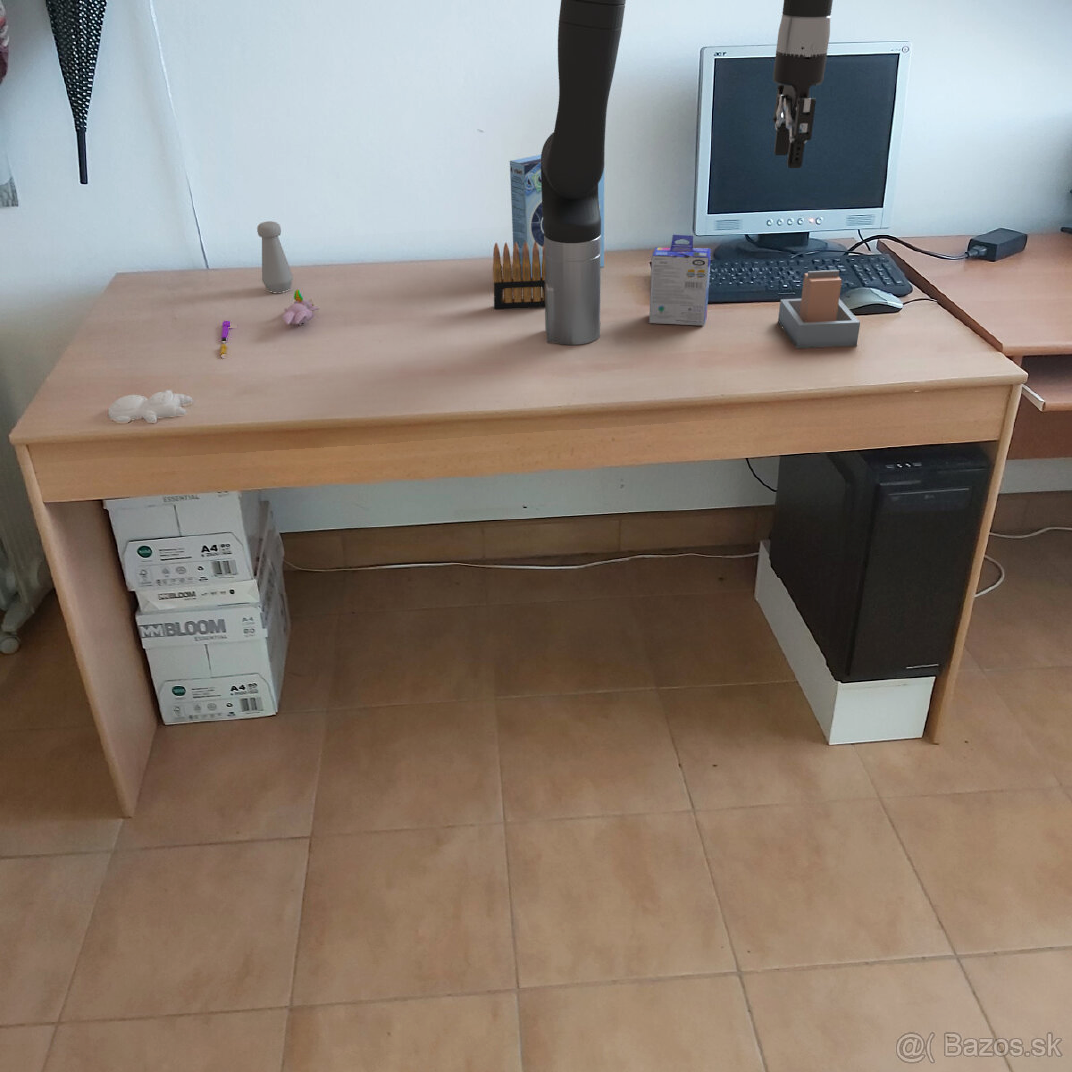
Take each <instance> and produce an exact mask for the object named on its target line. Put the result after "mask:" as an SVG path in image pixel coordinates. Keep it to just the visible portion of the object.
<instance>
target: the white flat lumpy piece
mask: <svg viewBox="0 0 1072 1072" xmlns="http://www.w3.org/2000/svg"><path fill="white" fill-rule="evenodd" d="M191 402H193V403H194V401H193V398H192V397H190V396H189V395H185V394H184V393H173V390H171V389H166V390H165V391H158V392H155V393H153V394H152V395H151V396H150V397H149V398H147V397H146V396H144V395H139V394H128V395H125V396H122V397H120V398H118V399H116V400H115V401H114V402H113V403H112V404H111V405H110V406H109V407H108V408H109V409H108V412H107V413H108V415H109V416H108V418H109V417H110V418H111V419H116V421H117V422H126V421H129V420H130V419H136V418H140V417H143V418H144V419H145V420H147V421H149V422H155V421H157V418H158V417H170V416H178V415H184V414H185V413H186V414H187V411H186V409H185V408H183V407H180V405H183V404H188V403H191ZM110 418H109V419H110ZM143 418H142V419H143ZM144 419H143V420H144ZM145 420H144V421H145ZM116 421H115V422H116ZM157 422H158V421H157Z"/></svg>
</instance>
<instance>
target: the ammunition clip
mask: <svg viewBox="0 0 1072 1072" xmlns="http://www.w3.org/2000/svg"><path fill="white" fill-rule="evenodd" d="M502 249H503V250H502V251H503V252H502V257H503V258H502V261H501V252H500V247H499V245H498V243H497V242H495V243H494V246H493V255H492V256H493V258H492V259H493V263H492V276H493V277H492V278H493V281H492V282H493V309H494V310H496V311H497V310H502V311H503V310H520V309H521V310H522V309H541V308H542V309H545V286H544V277H545V246H544V245H543V257H542V277H541V265H540V258H539V249H538V244H537V242H536V241H535V242H534V246H533V257H532V278H531V265H530V258H529V249H528V245H527V243H526V242H525V243H524V246H523V259H522V275H521V264H520V255H519V248H518V245H517V243H516V242H515V244H514V247H513V246H512V264H511V253H510V249H509V245H508V243H507V242H505V243H504V245H503V248H502ZM501 262H502V263H501Z"/></svg>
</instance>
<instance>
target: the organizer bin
mask: <svg viewBox="0 0 1072 1072" xmlns="http://www.w3.org/2000/svg"><path fill="white" fill-rule="evenodd" d="M801 298H802V297H801ZM801 298H783V299H780V301H779V310H778V318H777V323H780V324H779V325H780V326H781V328H782V327H783V328H782V330H783V331H784V332H785V334H786V335H787V337H788V336H789V337H788V338H789V339H790V341H791V342H792V344H793V345H794V347H795V348H796V349H810V348H811V347H814V348H831V346H832V347H833V346H835V347H855V346H858V339H859V333H860V326H861V321H860V320H859V319H858V318H857V316H855V315H854V313H853V312H852V311H851V310H850V309H849V308H848V307H847V305H846V304H845V303H844V302H843V301H842V300H841V299H840V298H839V303H838V310H837V317H836V321H828V322H807V323H804V322H803V321H802V320H801V318H800V317H799V315H800V307H801Z"/></svg>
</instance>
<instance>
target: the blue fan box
mask: <svg viewBox="0 0 1072 1072" xmlns="http://www.w3.org/2000/svg"><path fill="white" fill-rule="evenodd" d="M604 156H605V152H604ZM509 173H510V174H509V175H510V197H511V198H510V199H511V200H510V201H511V225H512V248H513V247H514V244H515V242H516V243H517V245H518V248H519V255H520V264H521V275H522V259H523V246H524V243H525V242H526V243H527V245H528V249H529V258H530V265H531V278H532V257H533V246H534V242H535V241H536V242H537V244H538V249H539V258H540V265H541V277H542V257H543V245H544V222H543V213H542V189H541V154H538V155H537V154H536V155H532V156H529V157H522V158H518V159H514V160H513V159H512V160H511V159H510V160H509ZM598 199H599V210H600V217H601V268H604V266H605V170H604V171H603V175H602V177H601V180H600V181H599V183H598Z"/></svg>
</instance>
